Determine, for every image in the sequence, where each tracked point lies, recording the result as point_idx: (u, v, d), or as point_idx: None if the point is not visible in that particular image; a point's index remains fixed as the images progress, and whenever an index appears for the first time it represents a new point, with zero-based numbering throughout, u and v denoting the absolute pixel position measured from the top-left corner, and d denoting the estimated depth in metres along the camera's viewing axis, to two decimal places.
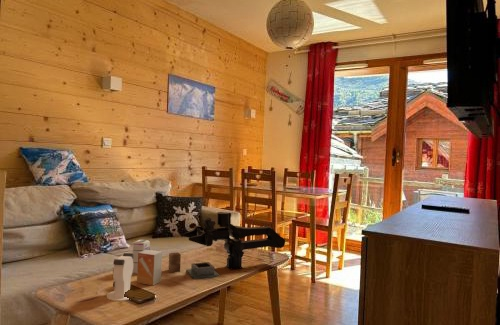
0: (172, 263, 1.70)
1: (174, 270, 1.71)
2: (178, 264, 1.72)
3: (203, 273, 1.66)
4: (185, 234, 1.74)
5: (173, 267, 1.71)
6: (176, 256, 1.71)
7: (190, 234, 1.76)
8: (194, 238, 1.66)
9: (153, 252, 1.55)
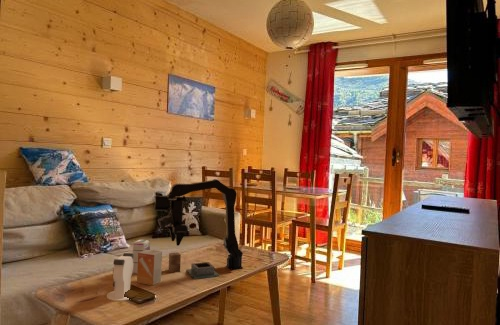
0: (172, 263, 1.70)
1: (174, 270, 1.71)
2: (178, 264, 1.72)
3: (203, 273, 1.66)
4: (172, 239, 1.77)
5: (173, 267, 1.71)
6: (176, 256, 1.71)
7: (173, 233, 1.77)
8: (178, 240, 1.68)
9: (153, 252, 1.55)
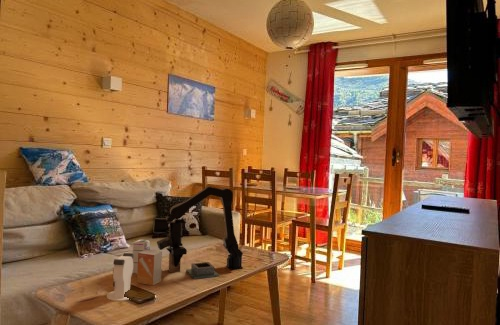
0: (172, 263, 1.70)
1: (174, 270, 1.71)
2: (178, 264, 1.72)
3: (203, 273, 1.66)
4: None
5: (173, 267, 1.71)
6: None
7: None
8: (175, 262, 1.70)
9: (153, 252, 1.55)
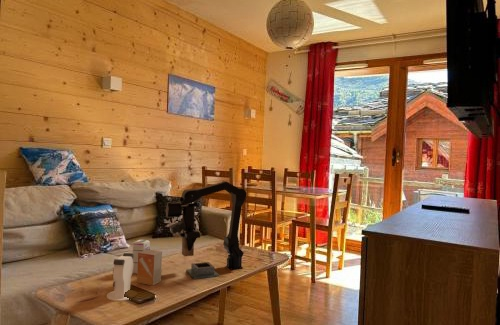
0: (185, 246, 1.69)
1: (187, 254, 1.69)
2: None
3: (203, 273, 1.66)
4: None
5: (186, 251, 1.69)
6: None
7: None
8: (189, 246, 1.69)
9: (153, 252, 1.55)
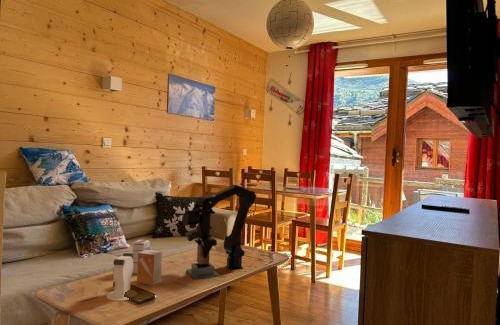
0: (201, 254, 1.67)
1: (203, 262, 1.68)
2: (207, 256, 1.68)
3: (203, 273, 1.66)
4: None
5: (202, 259, 1.67)
6: None
7: None
8: (205, 253, 1.67)
9: (153, 252, 1.55)
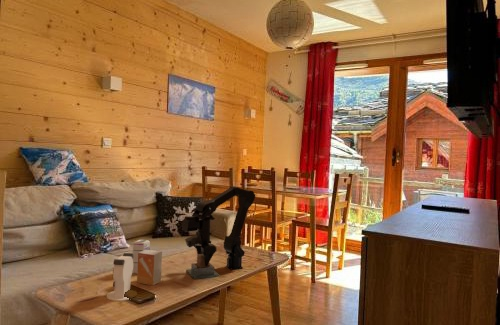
0: (200, 264, 1.67)
1: None
2: None
3: (203, 273, 1.66)
4: None
5: None
6: None
7: (200, 252, 1.74)
8: (206, 261, 1.65)
9: (153, 252, 1.55)
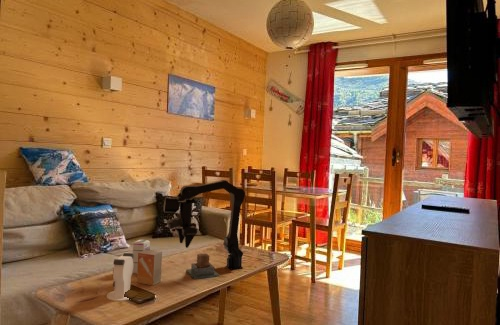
0: (200, 264, 1.67)
1: None
2: (207, 265, 1.68)
3: (203, 273, 1.66)
4: (181, 241, 1.76)
5: None
6: (205, 257, 1.68)
7: (181, 235, 1.77)
8: (187, 242, 1.67)
9: (153, 252, 1.55)
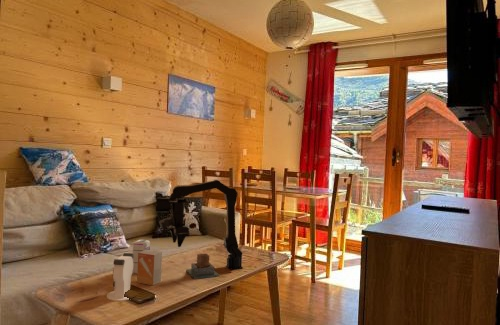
0: (200, 264, 1.67)
1: None
2: (207, 265, 1.68)
3: (203, 273, 1.66)
4: (174, 240, 1.78)
5: None
6: (205, 257, 1.68)
7: (174, 235, 1.78)
8: (179, 242, 1.69)
9: (153, 252, 1.55)
